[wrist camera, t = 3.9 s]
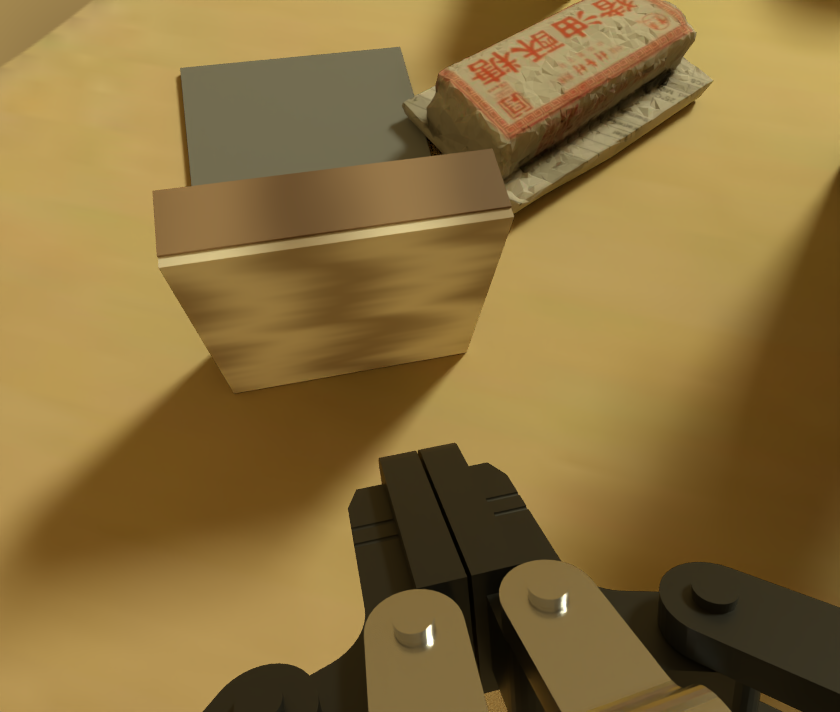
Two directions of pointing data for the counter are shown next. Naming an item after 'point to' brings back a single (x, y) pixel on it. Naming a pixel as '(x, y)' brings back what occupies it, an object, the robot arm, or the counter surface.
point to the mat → (298, 115)
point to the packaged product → (564, 92)
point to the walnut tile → (335, 264)
